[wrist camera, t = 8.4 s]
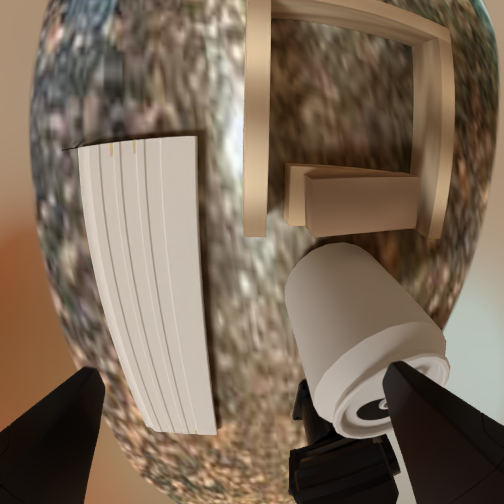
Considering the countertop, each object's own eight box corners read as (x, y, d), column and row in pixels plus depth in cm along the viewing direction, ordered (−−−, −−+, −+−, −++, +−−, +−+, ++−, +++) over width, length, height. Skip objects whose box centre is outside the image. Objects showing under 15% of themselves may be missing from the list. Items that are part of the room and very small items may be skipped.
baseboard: (136, 419, 28) (217, 424, 29) (132, 437, 26) (217, 444, 27) (68, 148, 17) (199, 134, 17) (47, 152, 14) (193, 134, 15)
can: (266, 309, 22) (290, 447, 11) (309, 222, 20) (391, 331, 8) (345, 331, 24) (398, 445, 12) (389, 257, 21) (484, 353, 10)
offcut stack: (387, 219, 20) (415, 238, 16) (282, 217, 19) (294, 237, 16) (393, 168, 18) (425, 178, 15) (285, 159, 18) (298, 165, 14)
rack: (414, 223, 20) (440, 239, 17) (242, 219, 19) (243, 236, 16) (422, 38, 14) (449, 29, 11) (246, 3, 13) (249, -21, 10)
